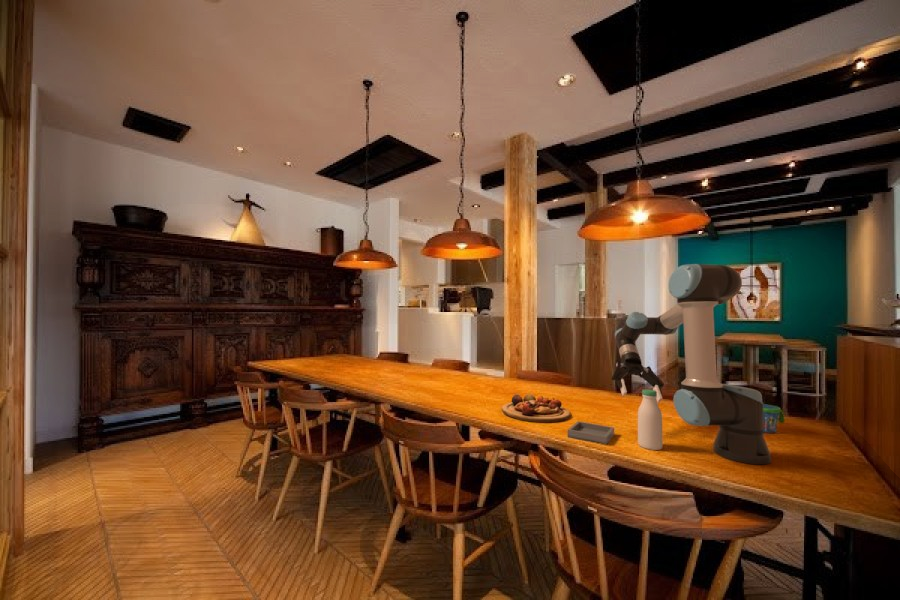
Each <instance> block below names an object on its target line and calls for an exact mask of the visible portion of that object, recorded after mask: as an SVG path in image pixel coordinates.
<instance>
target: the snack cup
mask: <svg viewBox="0 0 900 600" xmlns="http://www.w3.org/2000/svg"><path fill="white" fill-rule="evenodd" d="M785 421H786V420H785V415H784V412H783V410H782V409H781V407H779V406H777V405H772V404H771V405H770V404H766V403H763V433H767V434H771V433H773V432H774V433H776V432H777V429H778V423H781V424H784V423H785ZM774 433H773V434H774Z"/></svg>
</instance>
